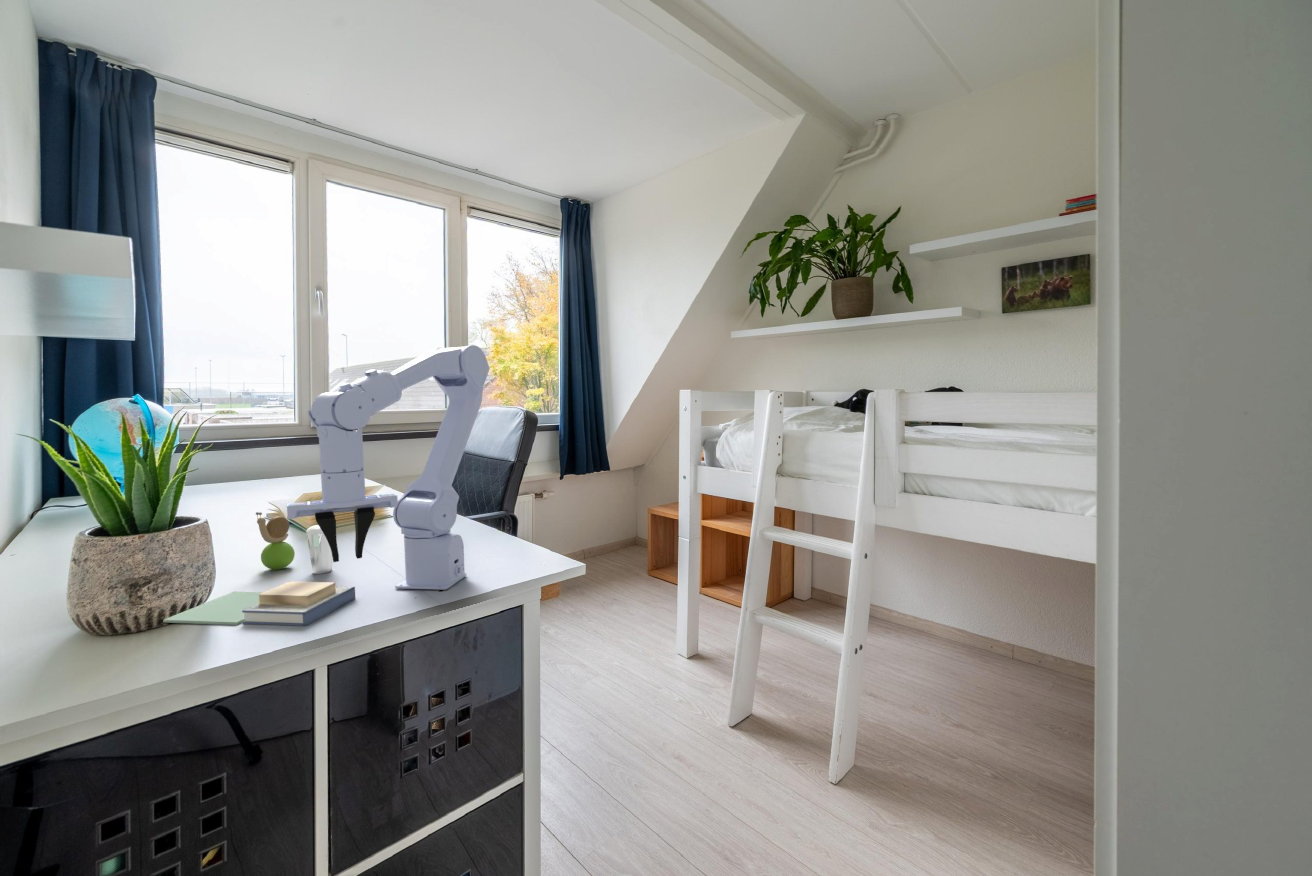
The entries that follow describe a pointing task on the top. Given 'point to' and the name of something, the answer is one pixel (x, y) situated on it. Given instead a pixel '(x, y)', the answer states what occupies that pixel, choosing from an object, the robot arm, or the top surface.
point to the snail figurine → (275, 542)
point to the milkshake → (319, 550)
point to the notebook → (298, 610)
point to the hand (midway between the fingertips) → (347, 558)
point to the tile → (297, 593)
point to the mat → (219, 610)
